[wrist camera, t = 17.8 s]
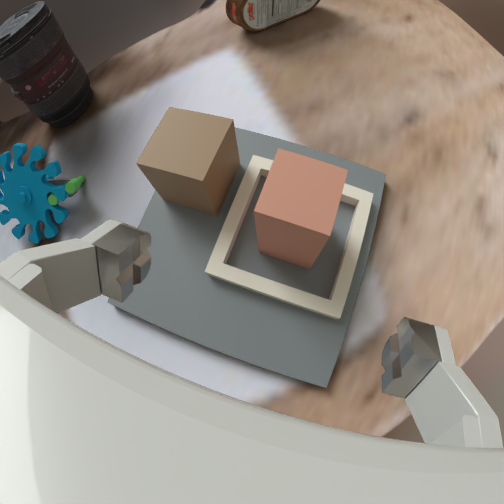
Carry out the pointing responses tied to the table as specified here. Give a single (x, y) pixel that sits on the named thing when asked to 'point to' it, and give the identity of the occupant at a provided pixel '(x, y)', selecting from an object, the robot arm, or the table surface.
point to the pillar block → (298, 207)
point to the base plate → (245, 250)
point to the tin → (266, 12)
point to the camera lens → (43, 66)
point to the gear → (34, 192)
